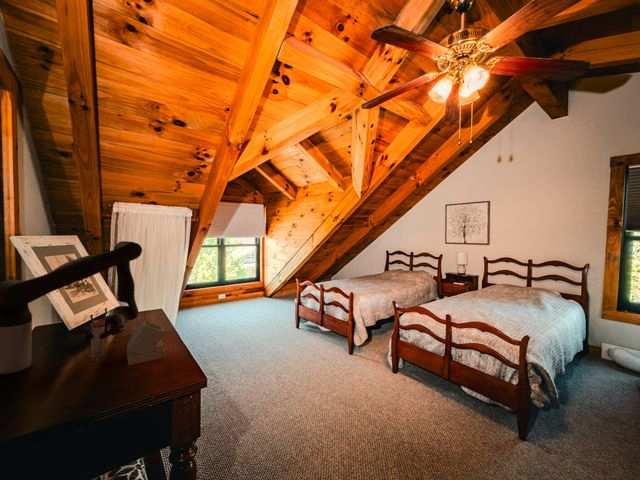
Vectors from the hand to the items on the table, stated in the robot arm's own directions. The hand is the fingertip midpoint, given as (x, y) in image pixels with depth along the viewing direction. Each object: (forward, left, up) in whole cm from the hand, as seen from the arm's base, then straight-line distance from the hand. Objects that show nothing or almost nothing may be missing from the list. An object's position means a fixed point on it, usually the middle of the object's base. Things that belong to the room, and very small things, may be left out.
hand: (94, 337), depth 108 cm
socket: (+17, 0, -12) cm, 21 cm away
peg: (+1, +3, -8) cm, 9 cm away
